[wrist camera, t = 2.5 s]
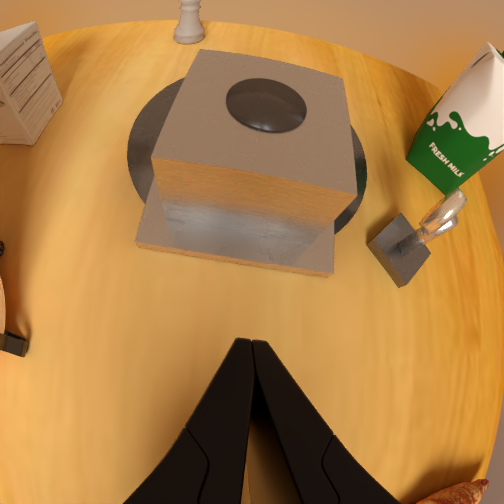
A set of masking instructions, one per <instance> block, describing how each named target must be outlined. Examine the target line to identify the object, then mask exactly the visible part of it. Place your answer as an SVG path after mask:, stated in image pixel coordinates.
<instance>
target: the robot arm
mask: <svg viewBox="0 0 504 504" xmlns="http://www.w3.org/2000/svg"><path fill="white" fill-rule="evenodd" d="M246 461H247V471H248V481H249V491H250V500H251V504H401V503H400V502H399V501H398V500H397V499H395V498H394V497H393V496H392V495H391V494H390V493H389V492H388V491H387V490H386V489H385V488H383V487H382V486H381V485H380V484H379V483H378V482H377V481H376V480H375V479H374V478H373V477H372V476H371V475H370V474H369V473H368V472H367V471H366V470H365V469H364V468H363V467H362V466H361V465H360V464H359V463H358V462H357V461H356V460H355V459H354V457H353V456H352V455H351V454H350V453H349V451H348V450H347V449H346V448H345V447H344V445H343V444H342V443H341V442H340V440H339V439H338V438H337V436H336V435H333V431H332V430H331V429H330V427H329V426H328V425H327V423H326V422H325V421H324V419H323V418H322V417H321V415H320V414H319V413H318V411H317V410H316V409H315V407H314V406H313V405H312V403H311V402H310V401H309V399H308V398H307V397H306V395H305V394H304V392H303V391H302V390H301V388H300V387H299V386H298V384H297V383H296V381H295V380H294V379H293V377H292V376H291V374H290V373H289V372H288V370H287V369H286V368H285V366H284V365H283V363H282V362H281V360H280V359H279V358H278V356H277V355H276V353H275V352H274V351H273V349H272V348H271V346H270V345H269V343H268V342H267V341H263V340H252V341H251V340H250V339H246V338H236V339H235V340H234V342H233V344H232V346H231V347H230V349H229V351H228V353H227V354H226V356H225V358H224V360H223V361H222V363H221V365H220V367H219V368H218V370H217V372H216V374H215V375H214V377H213V379H212V380H211V382H210V384H209V386H208V387H207V389H206V391H205V392H204V394H203V396H202V398H201V399H200V401H199V403H198V404H197V406H196V408H195V409H194V411H193V413H192V414H191V416H190V418H189V419H188V421H187V423H186V424H185V428H183V429H182V431H181V432H180V434H179V436H178V437H177V439H176V440H175V442H174V443H173V445H172V446H171V448H170V449H169V451H168V452H167V454H166V455H165V457H164V458H163V459H162V460H161V462H160V463H159V464H158V465H157V466H156V468H155V469H154V470H153V471H152V473H151V474H150V475H149V476H148V477H147V478H146V479H145V480H144V481H143V482H142V484H141V485H140V486H139V487H138V488H137V489H136V490H135V491H134V492H133V493H132V494H131V495H130V496H129V497H128V499H127V500H126V501H125V502H124V503H123V504H241V497H242V488H243V480H244V472H245V463H246Z"/></svg>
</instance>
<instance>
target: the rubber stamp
mask: <svg viewBox="0 0 504 504" xmlns="http://www.w3.org/2000/svg"><path fill="white" fill-rule="evenodd" d="M466 201H467V198H466V197H465V196H464V194H463V193H462V191H461V190H460V189H459V188H456V189H454V190H453V191H451V192H450V193H449V194H447V195H446V196H445V197H444V198H442V199H441V200H440V201H439V202H438V203H437V204H436V205H434V206H433V207H432V208H431V209H430V210H429V211H428V212H427V213H426V214H425V215H424V216H423V218H422V219H421V220H420V222H419V225H420V226H421V228H419V229H418V230H416V231H415V230H414V229H413V228H412V226H411V225H410V224H409V222H408V221H407V220H406V218H405V217H404V216H403V215H402V213H400V214H399V215H397V216H396V217H395V218H394V219H393V220H392V221H391V222H390V223H389V224H388V225H387V226H386V227H385V228H383V229H382V230H381V231H380V232H379V233H378V234H377V235H376V236H375V237H374V238H373V239H372V240H371V241H370V242H369V243H368V244H367V246H368V248H369V249H370V250H371V251H372V253H373V254H374V255H375V257H376V258H377V259H378V260H379V262H380V263H381V264H382V266H383V267H384V268H385V270H386V271H387V272H388V274H389V275H390V276H391V278H392V279H393V281H394V282H395V283H396V285H397V286H398V288H400V287H402V286H405V285H407V284H408V282H409V281H410V280H411V279H412V277H413V276H414V275H415V274H416V272H417V271H418V270H419V268H420V267H421V266H422V265H423V263H424V262H425V261H426V259H427V258H428V257H429V255H430V254H431V252H430V251H429V250H428V248H427V247H426V245H425V244H426V243H428V242H430V241H431V240H433V239H435V238H436V237H438V236H440V235H442V234H443V233H445V232H447V231H448V230H450V229H452V228H453V227H455V226H456V225H457V224H458V218H457V215H456V214H457V213H458V212H459V211H460V210H461V209H462V208H463V206H464V205H465V203H466Z"/></svg>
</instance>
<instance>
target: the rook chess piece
mask: <svg viewBox="0 0 504 504" xmlns="http://www.w3.org/2000/svg"><path fill="white" fill-rule="evenodd" d="M179 1H180V2H181V6H180V9H181V16H180V20H179V23H178V24H177V27H176V28H175V29H174V34H175V35H174V36H173V39H174V40H175V41H176V42H178V43H180V44H194V43H198V42H199V41H201V40H202V39H203V38H204V27H203V26H202V24H201V23H200V20H199V9H200V8H201V6H200V5H199V3H200V1H201V0H179Z"/></svg>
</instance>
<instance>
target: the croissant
mask: <svg viewBox="0 0 504 504" xmlns="http://www.w3.org/2000/svg"><path fill="white" fill-rule="evenodd" d="M488 483H489V481H488V480H487V479H478V480H476V481H474V482H462V483H459V484H456V485H453V486H451V487H449V488H445V489H441V490H439V491H437V492H435V493H433V494H432V495H430V496H428V497H427V498H425V499H424V500H420V501H419V502H417V503H416V504H478V503H479V502H480V500H481V498H482V495H483V492H484V491H485V490H486V489H487V488H488Z"/></svg>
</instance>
